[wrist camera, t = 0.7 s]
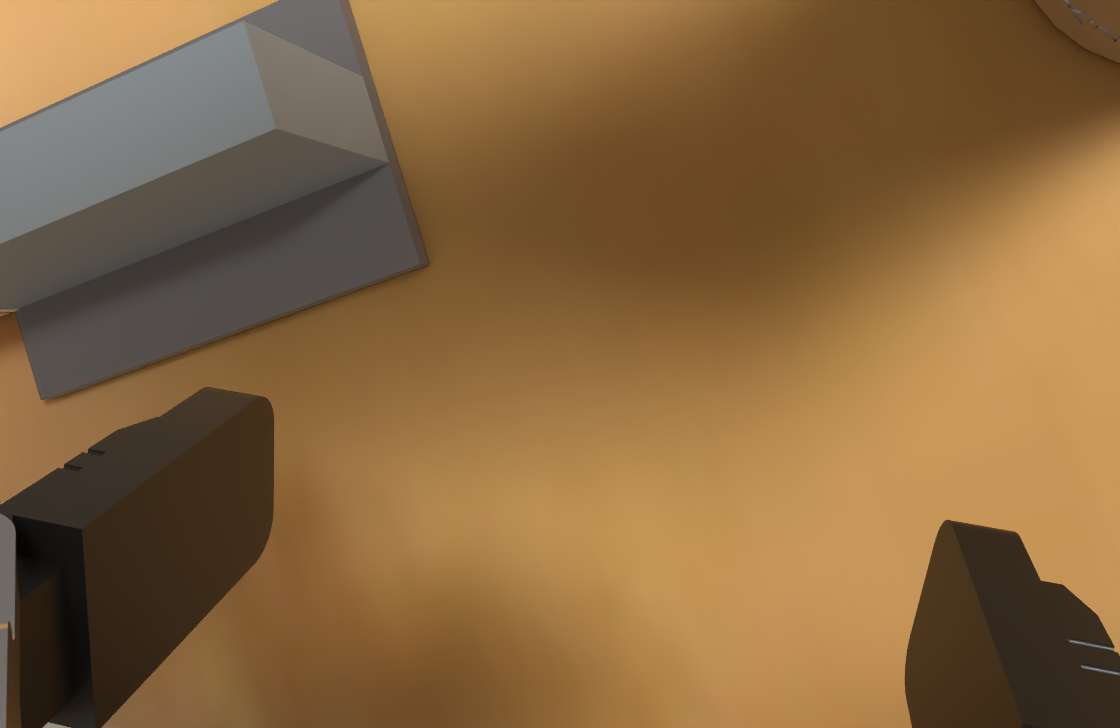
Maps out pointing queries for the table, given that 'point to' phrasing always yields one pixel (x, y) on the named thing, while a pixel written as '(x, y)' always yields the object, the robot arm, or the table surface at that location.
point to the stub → (3, 313)
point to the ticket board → (237, 255)
